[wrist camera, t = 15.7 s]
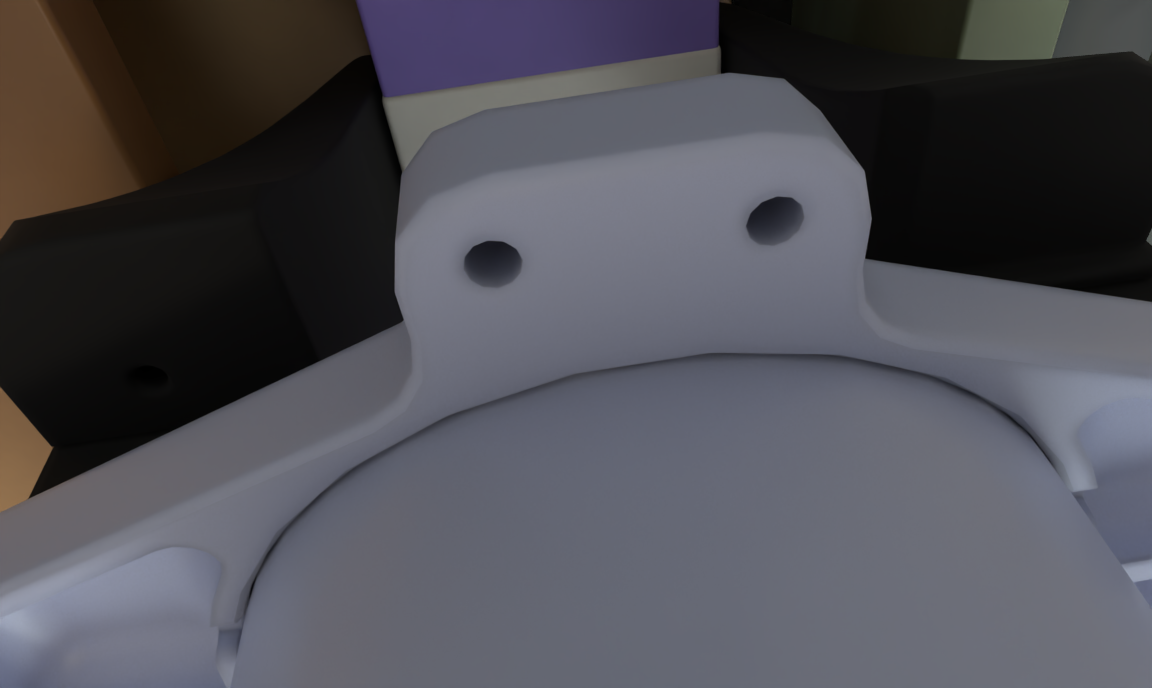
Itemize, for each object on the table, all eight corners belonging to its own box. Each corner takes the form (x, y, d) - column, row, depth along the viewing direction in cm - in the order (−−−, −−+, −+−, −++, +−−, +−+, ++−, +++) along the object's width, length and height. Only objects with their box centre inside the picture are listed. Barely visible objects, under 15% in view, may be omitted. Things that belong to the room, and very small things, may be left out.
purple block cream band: (657, -253, 11) (727, -208, 8) (672, 232, 16) (717, 361, 13) (347, -207, 11) (308, -147, 8) (465, 263, 16) (466, 400, 13)
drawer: (1263, -519, 11) (1823, -613, 6) (1025, 214, 18) (1198, 397, 14) (-188, -309, 10) (-644, -256, 6) (194, 341, 18) (112, 566, 14)
